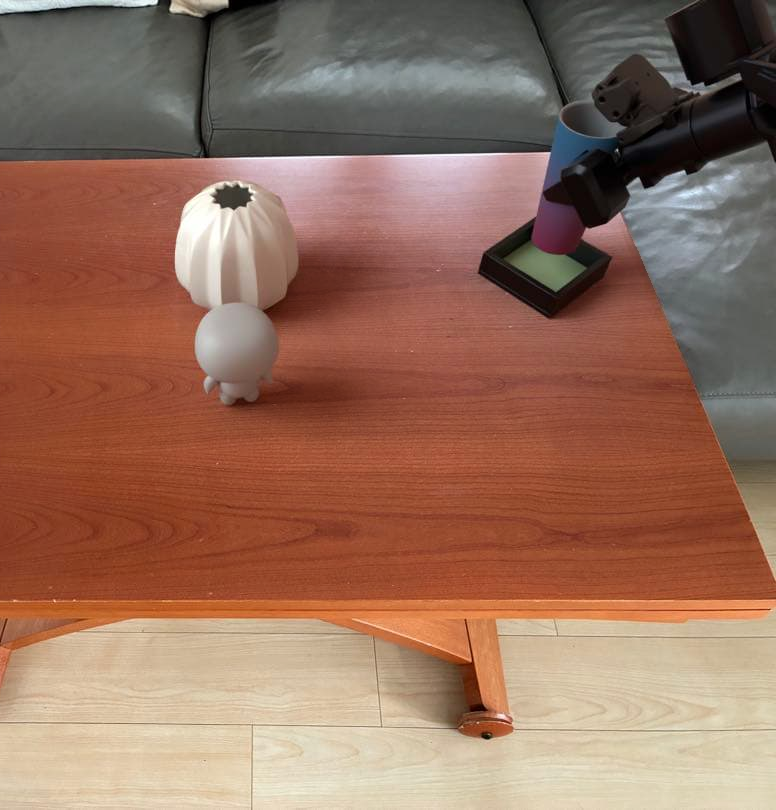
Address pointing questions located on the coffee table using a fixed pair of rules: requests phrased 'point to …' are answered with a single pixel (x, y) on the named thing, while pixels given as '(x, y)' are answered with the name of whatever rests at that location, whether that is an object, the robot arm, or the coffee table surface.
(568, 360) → the coffee table surface
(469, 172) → the coffee table surface
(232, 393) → the figurine
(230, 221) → the vase
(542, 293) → the tray
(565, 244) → the cup
